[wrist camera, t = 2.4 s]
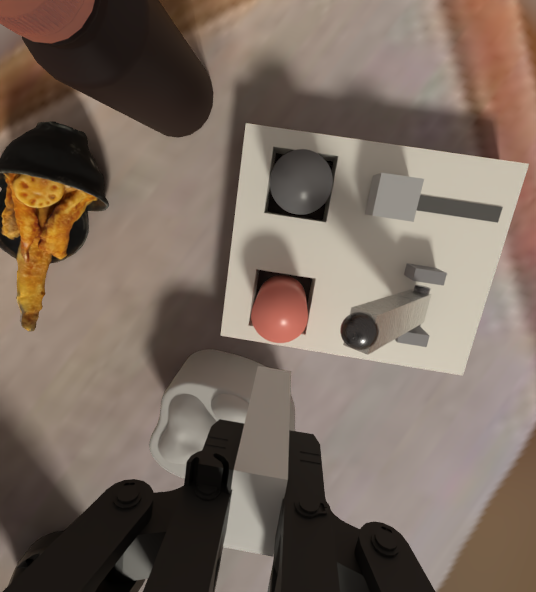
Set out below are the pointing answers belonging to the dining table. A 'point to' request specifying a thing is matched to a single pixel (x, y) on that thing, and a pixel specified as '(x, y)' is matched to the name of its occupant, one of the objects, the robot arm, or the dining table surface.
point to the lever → (385, 319)
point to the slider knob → (394, 196)
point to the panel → (374, 243)
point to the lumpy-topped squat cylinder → (202, 405)
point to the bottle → (118, 57)
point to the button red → (280, 309)
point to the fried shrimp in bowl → (46, 205)
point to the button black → (301, 181)
